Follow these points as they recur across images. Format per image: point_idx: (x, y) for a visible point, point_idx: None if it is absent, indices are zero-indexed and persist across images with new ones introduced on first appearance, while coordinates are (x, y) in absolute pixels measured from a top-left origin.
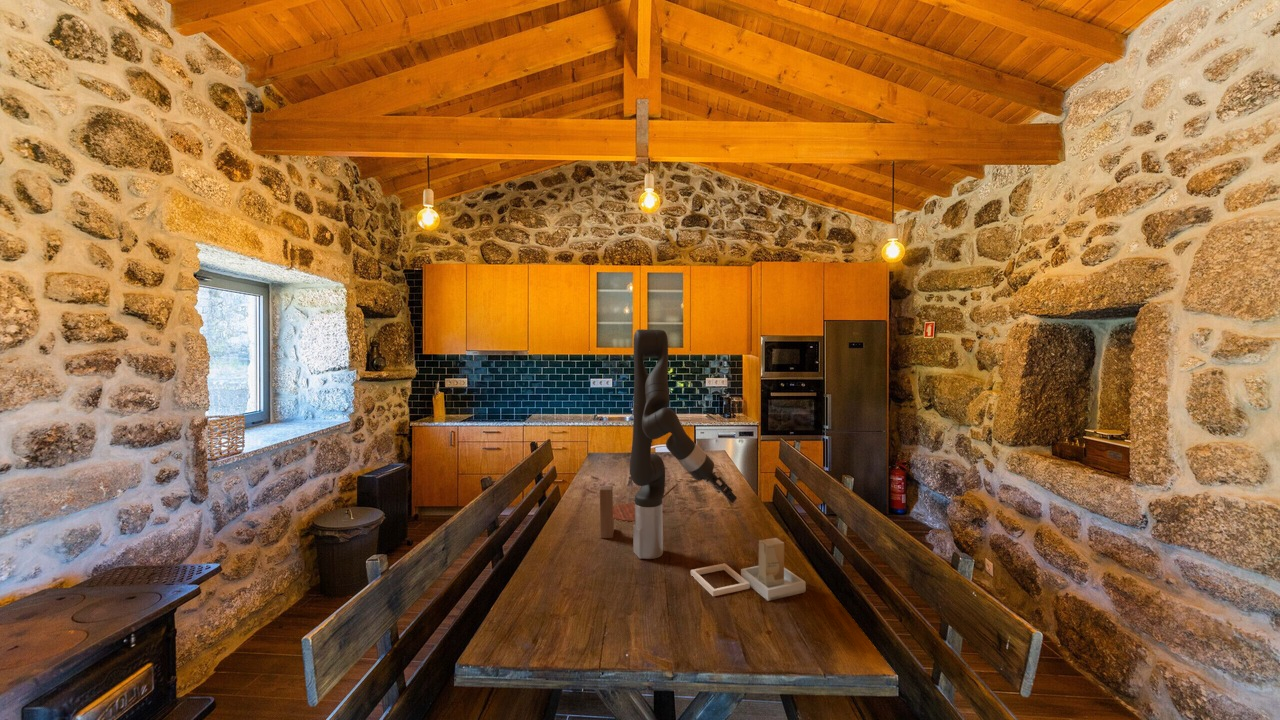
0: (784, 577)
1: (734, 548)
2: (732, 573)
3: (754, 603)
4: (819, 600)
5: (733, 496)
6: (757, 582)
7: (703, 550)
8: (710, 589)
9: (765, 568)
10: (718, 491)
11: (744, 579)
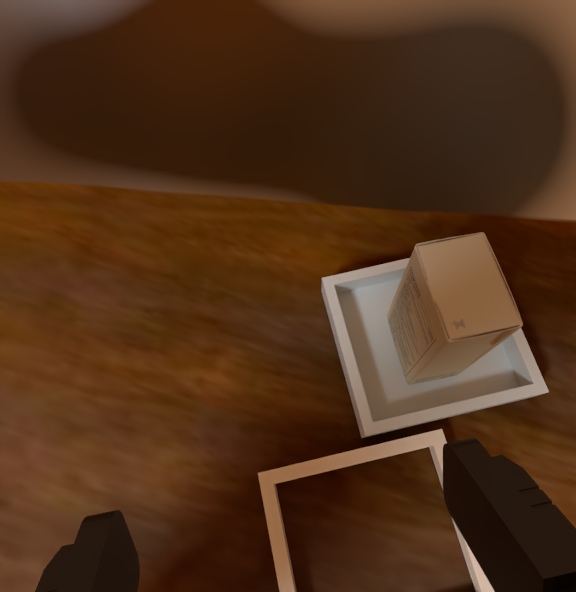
0: (387, 285)
1: (102, 373)
2: (341, 467)
3: (548, 453)
4: (523, 239)
5: (544, 502)
6: (480, 408)
7: (77, 516)
8: None
9: (475, 359)
10: (135, 580)
11: (409, 439)
